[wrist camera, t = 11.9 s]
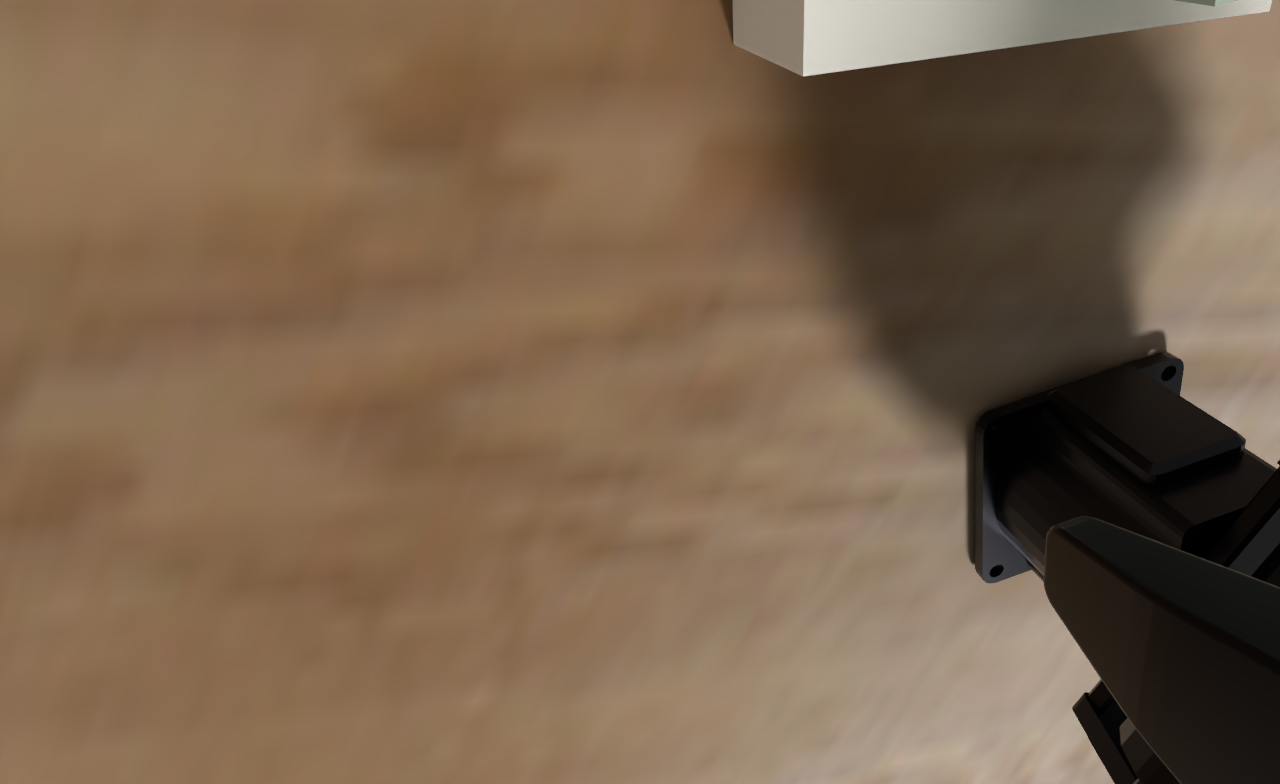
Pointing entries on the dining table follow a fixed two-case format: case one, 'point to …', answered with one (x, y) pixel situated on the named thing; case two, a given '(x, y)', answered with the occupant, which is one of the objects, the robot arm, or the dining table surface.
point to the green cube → (1208, 2)
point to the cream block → (940, 27)
